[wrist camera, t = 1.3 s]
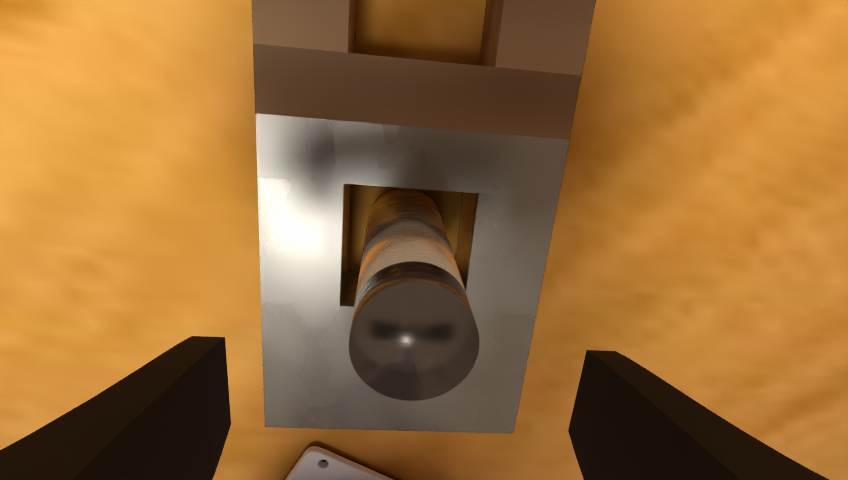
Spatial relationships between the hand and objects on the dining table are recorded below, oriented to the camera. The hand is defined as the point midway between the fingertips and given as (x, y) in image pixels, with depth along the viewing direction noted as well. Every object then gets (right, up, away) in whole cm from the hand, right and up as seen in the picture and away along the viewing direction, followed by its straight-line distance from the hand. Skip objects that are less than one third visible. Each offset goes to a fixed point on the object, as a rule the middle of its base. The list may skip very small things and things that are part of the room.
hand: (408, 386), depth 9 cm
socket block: (-1, +2, +10) cm, 11 cm away
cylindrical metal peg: (0, +4, +10) cm, 10 cm away
